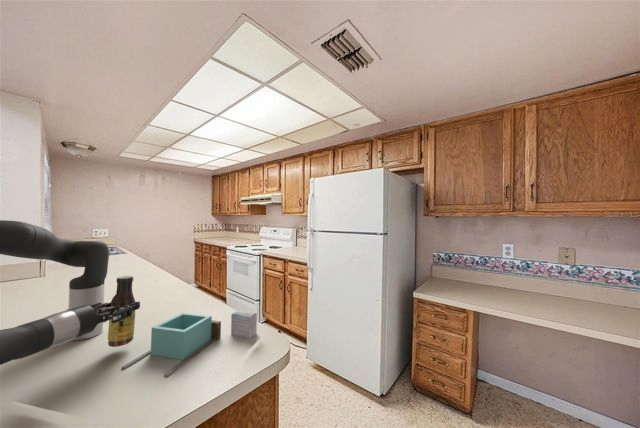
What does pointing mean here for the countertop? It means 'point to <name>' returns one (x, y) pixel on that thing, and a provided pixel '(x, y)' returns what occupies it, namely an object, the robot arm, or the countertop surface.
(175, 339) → the holder
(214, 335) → the track board
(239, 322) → the medicine box
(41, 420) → the countertop surface
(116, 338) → the sauce bottle
